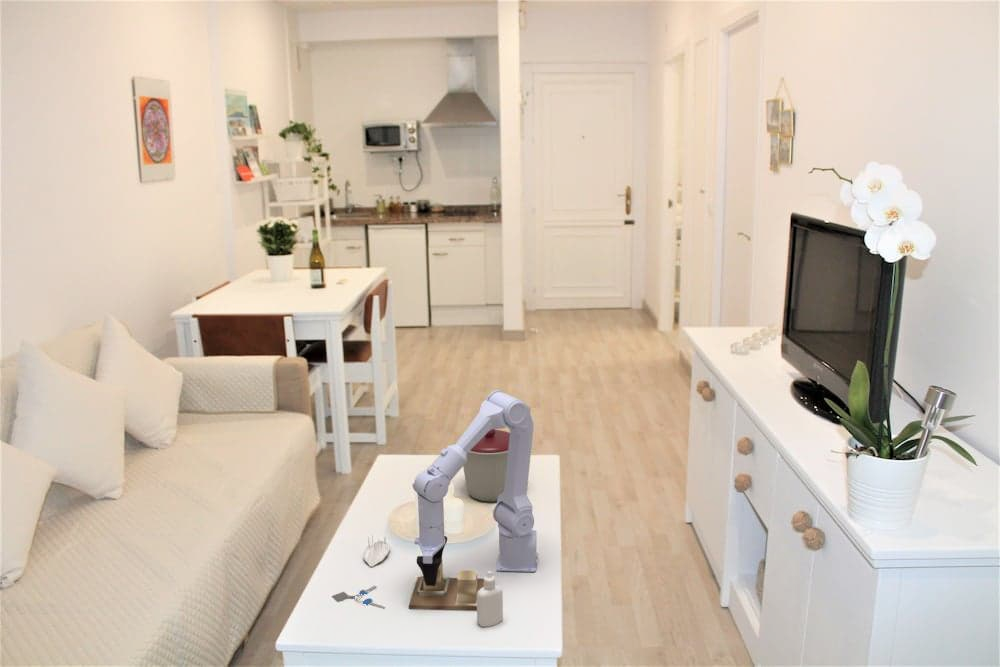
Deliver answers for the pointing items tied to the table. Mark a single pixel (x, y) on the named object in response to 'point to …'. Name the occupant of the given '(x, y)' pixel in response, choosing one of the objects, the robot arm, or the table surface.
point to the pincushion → (376, 552)
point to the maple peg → (438, 582)
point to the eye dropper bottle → (489, 603)
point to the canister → (487, 466)
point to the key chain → (344, 596)
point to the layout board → (449, 593)
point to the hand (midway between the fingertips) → (433, 576)
